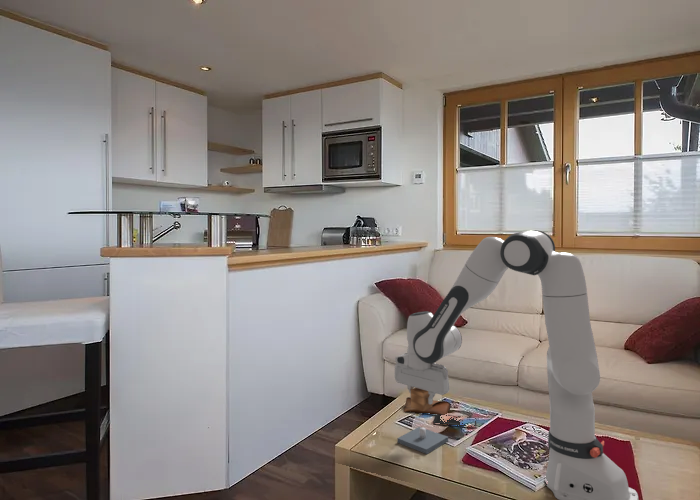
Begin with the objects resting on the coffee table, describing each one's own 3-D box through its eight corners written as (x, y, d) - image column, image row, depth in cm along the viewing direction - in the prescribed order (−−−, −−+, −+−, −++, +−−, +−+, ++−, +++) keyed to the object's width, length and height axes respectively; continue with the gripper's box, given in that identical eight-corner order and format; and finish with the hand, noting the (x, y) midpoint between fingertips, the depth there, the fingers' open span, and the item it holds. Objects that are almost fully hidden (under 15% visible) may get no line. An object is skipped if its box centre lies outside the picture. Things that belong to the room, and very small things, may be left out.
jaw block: (432, 407, 157) (432, 389, 157) (423, 411, 154) (422, 393, 154) (420, 403, 161) (419, 385, 161) (411, 407, 157) (410, 389, 157)
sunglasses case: (401, 412, 183) (403, 394, 186) (405, 415, 189) (406, 398, 192) (448, 417, 177) (449, 398, 180) (450, 420, 183) (451, 402, 186)
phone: (435, 414, 179) (476, 417, 174) (436, 416, 179) (476, 420, 174) (432, 422, 172) (475, 426, 167) (432, 425, 172) (475, 429, 167)
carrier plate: (448, 441, 158) (448, 428, 158) (426, 454, 149) (426, 440, 149) (419, 430, 166) (419, 418, 166) (397, 442, 158) (397, 429, 158)
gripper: (453, 363, 151) (453, 406, 152) (403, 352, 166) (403, 391, 167) (441, 368, 147) (442, 412, 148) (391, 356, 161) (392, 396, 162)
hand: (421, 401), depth 157 cm, fingers closed on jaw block, 5 cm apart
